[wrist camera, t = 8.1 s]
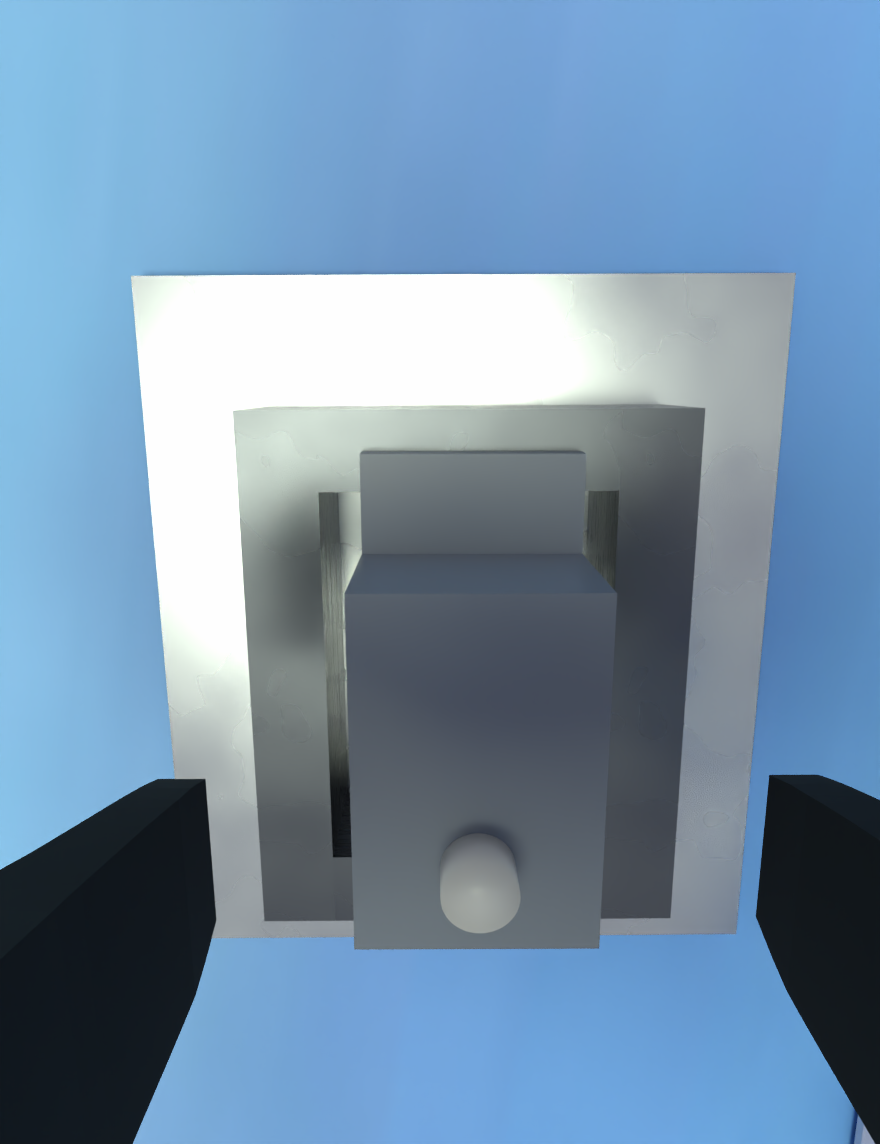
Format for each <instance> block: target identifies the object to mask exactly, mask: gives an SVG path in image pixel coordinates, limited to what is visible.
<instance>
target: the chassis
mask: <svg viewBox="0 0 880 1144" xmlns="http://www.w3.org/2000/svg"><path fill="white" fill-rule="evenodd" d="M795 275H796V273H658V274H437V275H216V276H131V281H132V292H133V304H134V315H135V327H136V338H137V350H138V361H139V373H140V384H141V396H142V407H143V418H144V430H145V441H146V453H147V464H148V476H149V487H150V499H151V510H152V522H153V533H154V545H155V556H156V568H157V579H158V591H159V602H160V613H161V625H162V636H163V648H164V659H165V671H166V682H167V694H168V705H169V717H170V728H171V740H172V751H173V763H174V774H175V779H206V791H207V804H208V817H209V830H210V843H211V856H212V869H213V882H214V895H215V908H216V924H215V928H214V931H213V935H212V938H283V937H354V917H353V882H352V847H351V812H350V777H349V742H348V707H347V672H346V637H345V602H344V593H345V591H346V589H347V587H348V584H349V582H350V580H351V577H352V575H353V573H354V571H355V568H356V566H357V564H358V561H359V559H360V557H361V555H362V543H361V500H360V457H359V454H360V453H361V452H362V451H582V452H584V453H586V454H587V456H586V481H585V505H584V530H583V555H584V556H585V557H586V558H587V559H588V561H589V562H590V563H591V564H592V565H593V566H594V567H595V569H596V570H597V571H598V572H599V573H600V574H601V575H602V577H603V578H604V579H605V580H606V581H607V582H608V583H609V585H610V586H611V587H612V588H613V589H614V590H615V591H616V593H617V607H616V626H615V646H614V665H613V685H612V704H611V724H610V744H609V763H608V783H607V802H606V822H605V842H604V861H603V881H602V900H601V920H600V935H671V934H736V928H737V917H738V906H739V895H740V884H741V873H742V862H743V851H744V840H745V829H746V818H747V807H748V795H749V784H750V773H751V762H752V751H753V740H754V729H755V718H756V707H757V696H758V685H759V674H760V663H761V652H762V640H763V629H764V618H765V607H766V596H767V585H768V574H769V563H770V552H771V541H772V530H773V519H774V508H775V496H776V485H777V474H778V463H779V452H780V441H781V430H782V419H783V408H784V397H785V386H786V375H787V364H788V353H789V341H790V330H791V319H792V308H793V297H794V286H795Z"/></svg>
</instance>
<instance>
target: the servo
mask: <svg viewBox="0 0 880 1144" xmlns="http://www.w3.org/2000/svg"><path fill="white" fill-rule="evenodd" d="M586 456H587V454H586V453H584V452H582V451H362V452H361V453H360V454H359V457H360V500H361V543H362V555H361V557H360V559H359V561H358V564H357V566H356V568H355V571H354V573H353V575H352V577H351V580H350V582H349V584H348V587H347V589H346V591H345V593H344V602H345V637H346V672H347V707H348V742H349V777H350V812H351V847H352V882H353V917H354V949H567V948H599V939H600V920H601V900H602V881H603V861H604V842H605V822H606V802H607V783H608V763H609V744H610V724H611V704H612V685H613V665H614V646H615V626H616V607H617V593H616V591H615V590H614V589H613V588H612V587H611V586H610V585H609V583H608V582H607V581H606V580H605V579H604V578H603V577H602V575H601V574H600V573H599V572H598V571H597V570H596V569H595V567H594V566H593V565H592V564H591V563H590V562H589V561H588V559H587V558H586V557H585V556H584V555H583V530H584V505H585V481H586Z"/></svg>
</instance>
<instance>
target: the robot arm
mask: <svg viewBox="0 0 880 1144" xmlns="http://www.w3.org/2000/svg"><path fill="white" fill-rule="evenodd" d="M756 918H757V920H758V923H759V925H760V928H761V930H762V933H763V935H764V938H765V940H766V943H767V945H768V948H769V950H770V953H771V955H772V958H773V960H774V963H775V965H776V967H777V969H778V972H779V974H780V976H781V979H782V981H783V983H784V985H785V988H786V990H787V992H788V994H789V996H790V997H791V999H792V1001H793V1003H794V1005H795V1006H796V1008H797V1010H798V1012H799V1014H800V1015H801V1017H802V1019H803V1021H804V1022H805V1024H806V1026H807V1028H808V1029H809V1031H810V1033H811V1035H812V1036H813V1038H814V1040H815V1042H816V1043H817V1045H818V1047H819V1049H820V1050H821V1052H822V1054H823V1056H824V1057H825V1059H826V1061H827V1062H828V1064H829V1066H830V1067H831V1069H832V1071H833V1073H834V1074H835V1076H836V1078H837V1079H838V1081H839V1083H840V1085H841V1086H842V1088H843V1090H844V1091H845V1093H846V1095H847V1097H848V1098H849V1100H850V1102H851V1103H852V1105H853V1107H854V1109H855V1110H856V1112H857V1114H858V1119H857V1126H856V1133H855V1140H854V1144H880V800H878V799H876V798H874V797H872V796H869V795H867V794H865V793H863V792H861V791H858V790H856V789H854V788H852V787H849V786H847V785H844V784H842V783H839V782H837V781H834V780H832V779H829V778H826V777H823V776H820V775H769V785H768V796H767V806H766V817H765V827H764V837H763V848H762V858H761V869H760V879H759V890H758V900H757V910H756ZM215 924H216V908H215V895H214V882H213V869H212V856H211V843H210V830H209V817H208V804H207V791H206V779H157V780H155V781H153V782H150V783H148V784H146V785H144V786H142V787H140V788H138V789H137V790H135V791H133V792H131V793H130V794H128V795H126V796H124V797H123V798H121V799H119V800H118V801H116V802H114V803H113V804H111V805H109V806H108V807H106V808H104V809H103V810H101V811H99V812H98V813H96V814H94V815H93V816H91V817H89V818H88V819H86V820H85V821H83V822H81V823H80V824H78V825H76V826H75V827H73V828H71V829H70V830H68V831H66V832H65V833H63V834H61V835H60V836H58V837H56V838H55V839H53V840H51V841H50V842H48V843H46V844H45V845H43V846H41V847H40V848H38V849H36V850H35V851H33V852H31V853H30V854H28V855H26V856H24V857H22V858H21V859H19V860H17V861H15V862H13V863H11V864H10V865H8V866H6V867H4V868H2V869H1V870H0V1144H133V1141H134V1139H135V1137H136V1134H137V1132H138V1130H139V1127H140V1125H141V1123H142V1120H143V1118H144V1116H145V1113H146V1111H147V1109H148V1106H149V1104H150V1102H151V1099H152V1097H153V1095H154V1092H155V1090H156V1088H157V1085H158V1083H159V1081H160V1078H161V1076H162V1074H163V1071H164V1069H165V1067H166V1065H167V1062H168V1060H169V1058H170V1055H171V1053H172V1050H173V1048H174V1046H175V1043H176V1041H177V1038H178V1036H179V1034H180V1031H181V1029H182V1027H183V1024H184V1022H185V1019H186V1017H187V1015H188V1012H189V1010H190V1007H191V1005H192V1002H193V1000H194V997H195V995H196V992H197V988H198V985H199V981H200V978H201V975H202V971H203V968H204V964H205V961H206V957H207V954H208V950H209V946H210V942H211V939H212V935H213V931H214V928H215Z"/></svg>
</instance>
